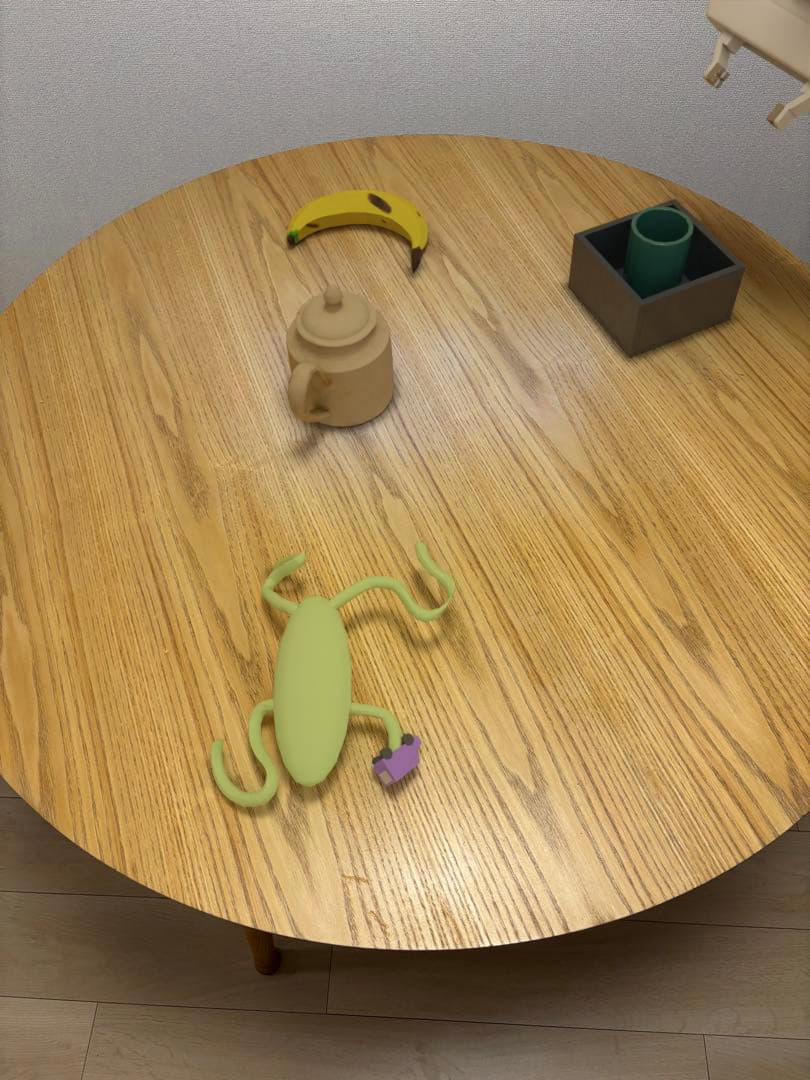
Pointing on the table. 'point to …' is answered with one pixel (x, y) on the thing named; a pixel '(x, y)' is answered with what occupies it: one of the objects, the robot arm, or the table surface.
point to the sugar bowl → (339, 360)
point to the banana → (362, 216)
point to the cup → (657, 250)
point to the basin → (664, 314)
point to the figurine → (322, 688)
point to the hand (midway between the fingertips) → (740, 104)
